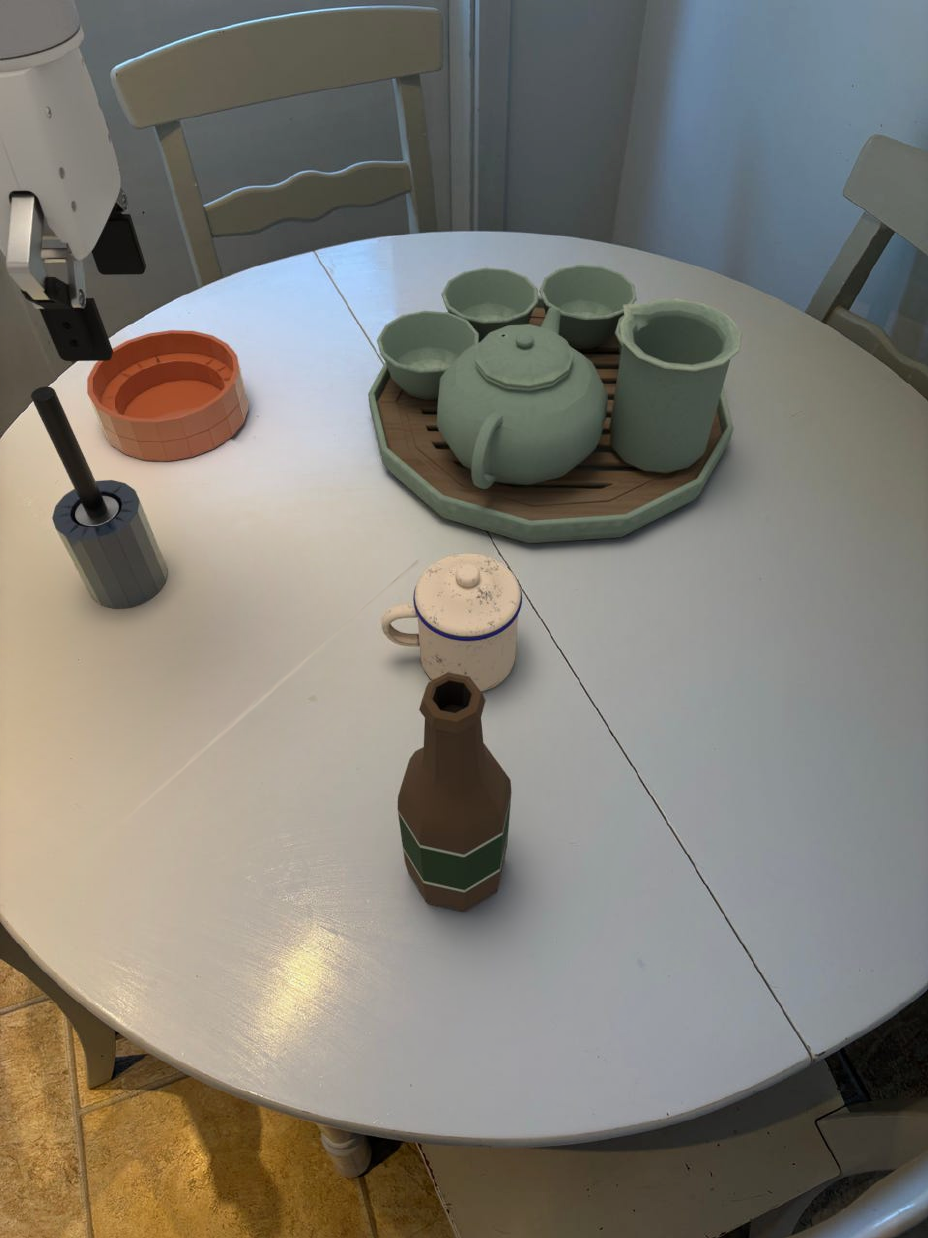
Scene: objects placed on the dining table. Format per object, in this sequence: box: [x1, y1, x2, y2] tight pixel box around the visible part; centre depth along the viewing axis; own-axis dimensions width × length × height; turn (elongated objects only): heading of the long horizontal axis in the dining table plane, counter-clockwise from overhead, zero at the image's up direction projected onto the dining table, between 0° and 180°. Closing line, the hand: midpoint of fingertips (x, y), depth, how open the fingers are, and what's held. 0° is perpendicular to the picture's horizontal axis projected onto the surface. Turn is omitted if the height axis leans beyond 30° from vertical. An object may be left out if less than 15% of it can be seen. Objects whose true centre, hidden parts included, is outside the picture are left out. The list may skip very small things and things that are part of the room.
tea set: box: [367, 264, 743, 544], centre depth 95 cm, size 40×40×16 cm
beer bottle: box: [397, 672, 513, 912], centre depth 59 cm, size 8×8×24 cm
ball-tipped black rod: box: [30, 386, 121, 527], centre depth 77 cm, size 4×4×22 cm
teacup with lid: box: [380, 553, 523, 692], centre depth 76 cm, size 12×9×12 cm
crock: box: [51, 479, 169, 610], centre depth 82 cm, size 7×7×10 cm
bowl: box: [86, 329, 250, 462], centre depth 99 cm, size 16×16×6 cm
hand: (106, 312), depth 58 cm, fingers open, 9 cm apart
